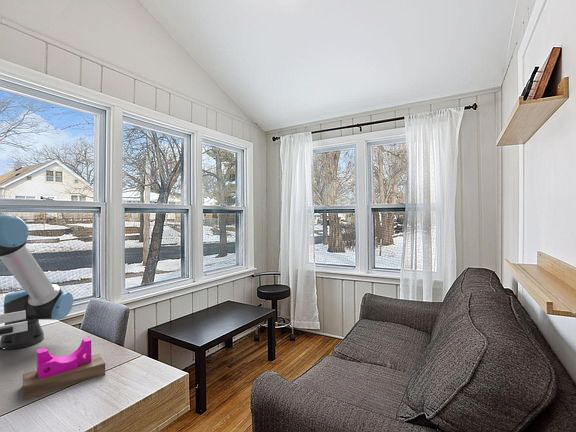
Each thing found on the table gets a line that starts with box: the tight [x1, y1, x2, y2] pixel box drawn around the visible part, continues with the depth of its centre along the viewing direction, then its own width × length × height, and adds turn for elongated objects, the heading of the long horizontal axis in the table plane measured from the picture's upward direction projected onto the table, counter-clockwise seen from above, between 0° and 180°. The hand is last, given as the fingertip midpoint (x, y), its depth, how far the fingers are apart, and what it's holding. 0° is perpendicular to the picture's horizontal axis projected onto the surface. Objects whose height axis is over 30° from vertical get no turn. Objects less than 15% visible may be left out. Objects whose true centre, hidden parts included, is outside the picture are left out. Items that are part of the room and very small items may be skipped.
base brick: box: [22, 353, 106, 400], centre depth 107 cm, size 10×22×4 cm, turn 132°
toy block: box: [36, 337, 93, 379], centre depth 108 cm, size 15×6×8 cm, turn 134°
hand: (26, 319), depth 100 cm, fingers open, 13 cm apart
